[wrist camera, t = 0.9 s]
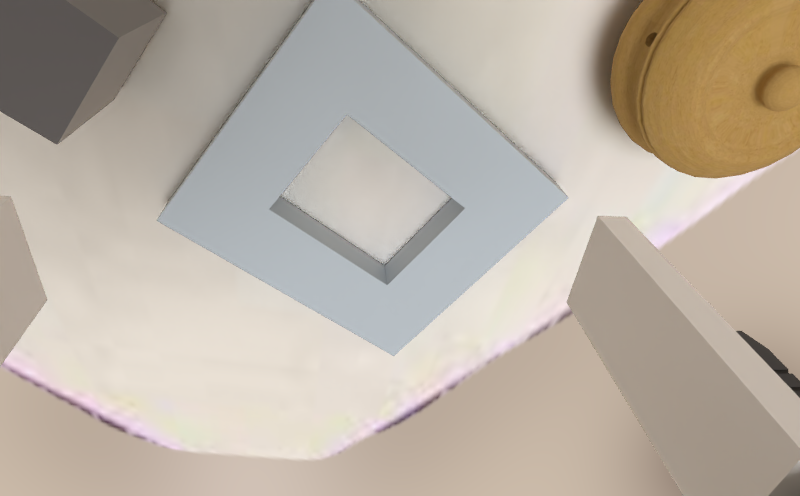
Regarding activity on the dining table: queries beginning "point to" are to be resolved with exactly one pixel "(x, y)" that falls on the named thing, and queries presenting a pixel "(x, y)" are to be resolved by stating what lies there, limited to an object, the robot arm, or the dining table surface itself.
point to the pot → (711, 83)
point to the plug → (68, 58)
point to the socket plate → (396, 128)
